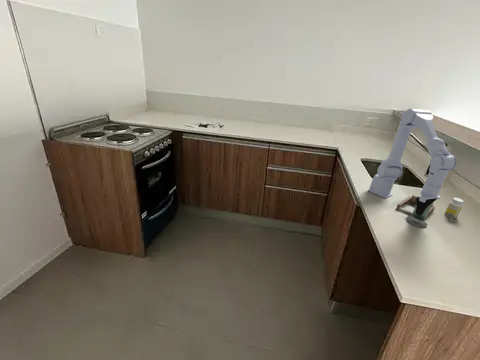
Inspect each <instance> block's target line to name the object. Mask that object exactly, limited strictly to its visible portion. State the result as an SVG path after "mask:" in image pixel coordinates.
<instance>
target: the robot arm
mask: <svg viewBox="0 0 480 360" xmlns="http://www.w3.org/2000/svg"><path fill="white" fill-rule="evenodd" d="M433 120H434V115H433V113H432V111H431V110H429V109H428V110H427V109H426V110H425V109H418V108H417V109H414V108H408V109H406V110H405V111H403V112H402V116H401V118H400V122H399V126H398V128H397V132H396V134H395V137H394V139H393V142H392V145H391V149H390V151H389V154H388V158H386V159H383V160H382V161H381V162H380V165H379V166H378V167H377V173H376V174H375V175H374V176H373V178H372V180H371V182H370V185H369V187H368V190H367V191H368V192H370V193H373V194H375V195H377V196H379V197H382V198H384V199H388V198H390V197H391V196H393V193H391V192H392V189H393V187H394V184H395V181H397V180H398V179H399V178H401V176H402V175H403V167H404V164H403V163H402V162H401V160H402V158H403V155H404V151H405V148H406V146H407V144H408V141H409V138H410V135H411V132H412V130H414V129H416V128H417V127H418V128H420V130H421V132H422V133H423V135H424V136H425V138H426V140H427V142H426V148H427V151H428V153H429V156H430V160H429V165H430V166H429V172H428V175H427V177H426V179H425V182H424V184H423V186H422V188H421V190H420V191H419V192H420V196H418V197H416V203H417V207H416V206H415V207H416V214H418V215H420V216H421V215H422V214H423V213H424V211H425V210H426V208H427V207H428V206H429V205H431V204H432V203H431V202H429V201H428V200H430V201H432V202H433V203H435V202H436V201H437V200H440V199H441V198H442V197H441V196H440V195H439V193H440V191H441V189H442V187H443V184H444V182H445V181H446V179H447V176H448V174H449V172H450V171H451V170H453V169H455V167H456V166H457V157H456V156H455V155H453V154H451V153H450V152H449V151H448V148H447V146H446V144H445V143H446V142H445V141H444V140H443V139H442V138H439V137H438V134H437V132H436V129H435V126H434V123H433Z"/></svg>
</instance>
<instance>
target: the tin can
mask: <svg viewBox="0 0 480 360" xmlns="http://www.w3.org/2000/svg"><path fill="white" fill-rule="evenodd" d="M428 201H429V202H431V203H432V204H433V205H434V202H432V201H430V200H428ZM432 204H431V205H429V206H428V207H427V208H426V210H425V211H424V213H423V214H422V215H421V216H420V215H418V214H416V207H417V204H416V205H415V206H414V209H413V211H412V213H413V214H412V216H413V217H414V218H416V219H418V220H422V221H423V220H424V221H425V220H426V219H427V218H428V216H427V215H428V212H429V210H430V208H431V206H432Z"/></svg>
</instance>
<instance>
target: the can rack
mask: <svg viewBox="0 0 480 360" xmlns="http://www.w3.org/2000/svg"><path fill="white" fill-rule="evenodd" d="M416 197H419V196H418V195H415V194H412V196H408V197H407V198H405V199H404V200H402V201H400V202H398V203H397V205H396V209H395V210H398V211H400V212H402V213H404V214H407V215H408V216H412V214H413V211H409V210H407V209H405V208H404V207H405V206H407V205H408V204H409V203H410V204H412V205H415V206H416V204H417V203H416ZM435 209H436V206H434V203H433V204H432V206H431V208H430V210H429V212H428V215H427V217H429V216H430V215H431V214H432V213H433V212H434V210H435Z"/></svg>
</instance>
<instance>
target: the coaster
mask: <svg viewBox="0 0 480 360" xmlns="http://www.w3.org/2000/svg"><path fill="white" fill-rule="evenodd" d="M405 217H406V218H405V221H406V222H407V223H408V224H409V225H411V226H414V227H417V228H421V229H426V228H427V227H428V223H427V221H425V220H423V221H422V220H418V219H416V218H414V217H413V216H411V215H408V216H405Z"/></svg>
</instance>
